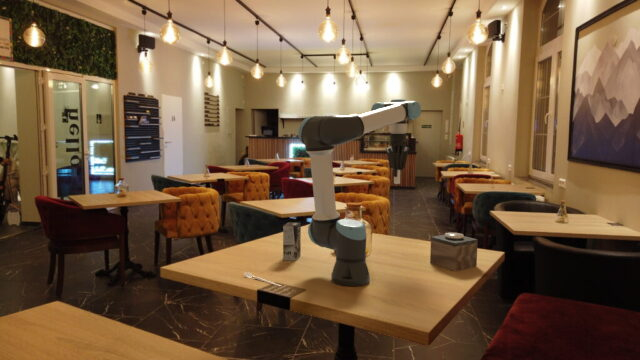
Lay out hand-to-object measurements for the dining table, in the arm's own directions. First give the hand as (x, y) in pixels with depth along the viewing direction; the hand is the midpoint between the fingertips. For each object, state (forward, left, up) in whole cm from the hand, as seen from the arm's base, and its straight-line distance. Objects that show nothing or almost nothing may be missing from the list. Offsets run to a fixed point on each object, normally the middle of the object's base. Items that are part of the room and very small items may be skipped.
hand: (396, 183), depth 214 cm
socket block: (+12, -25, -34) cm, 44 cm away
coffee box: (-45, +20, -35) cm, 60 cm away
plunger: (+12, -25, -35) cm, 44 cm away
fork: (-70, -3, -35) cm, 78 cm away
